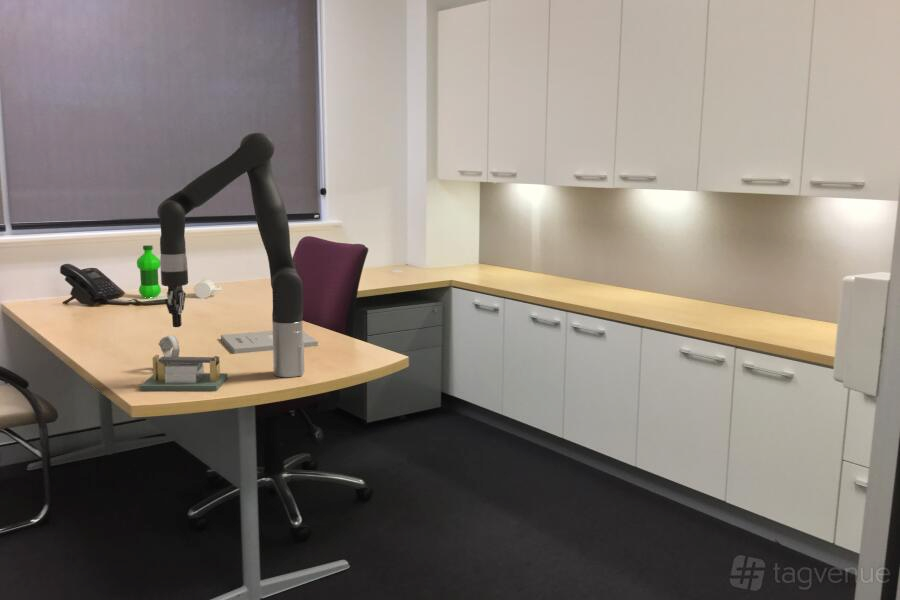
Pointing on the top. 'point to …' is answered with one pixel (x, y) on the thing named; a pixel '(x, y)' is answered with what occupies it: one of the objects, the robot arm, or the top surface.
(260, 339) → the award plaque
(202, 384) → the board
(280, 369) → the robot arm
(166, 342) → the watch
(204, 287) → the mug
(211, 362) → the clip posts
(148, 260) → the plastic bottle
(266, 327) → the top surface
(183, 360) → the strap
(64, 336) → the top surface
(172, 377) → the heat sink
